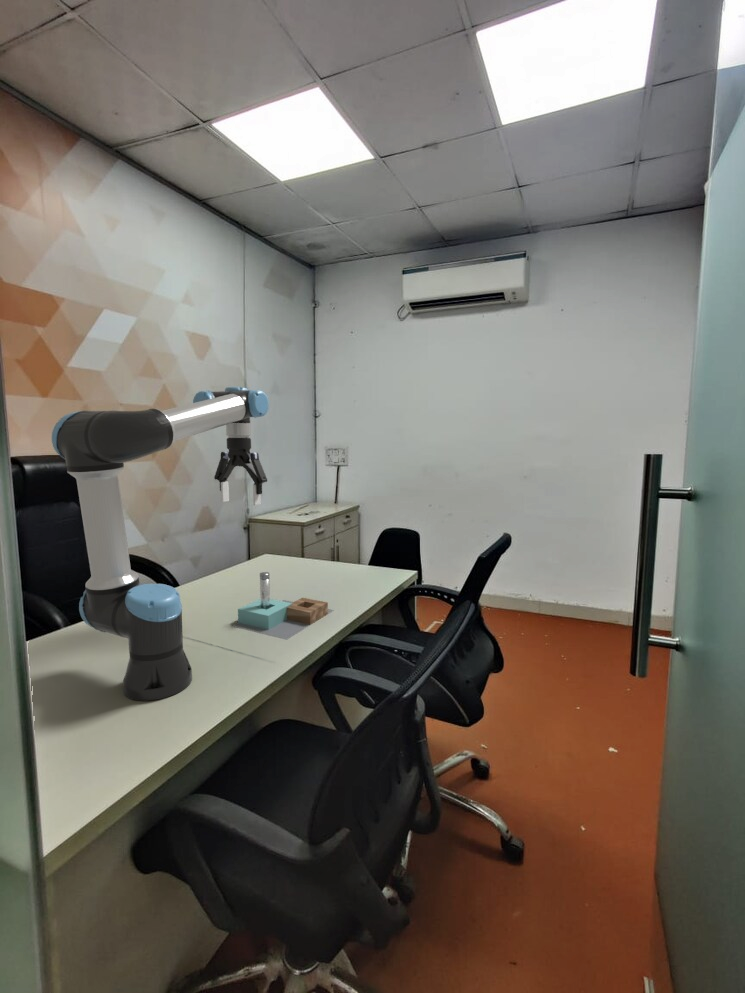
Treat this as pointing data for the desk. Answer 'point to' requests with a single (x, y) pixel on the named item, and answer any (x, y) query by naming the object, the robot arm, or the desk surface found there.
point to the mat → (278, 628)
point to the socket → (263, 614)
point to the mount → (307, 611)
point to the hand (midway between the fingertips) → (241, 503)
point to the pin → (265, 590)
